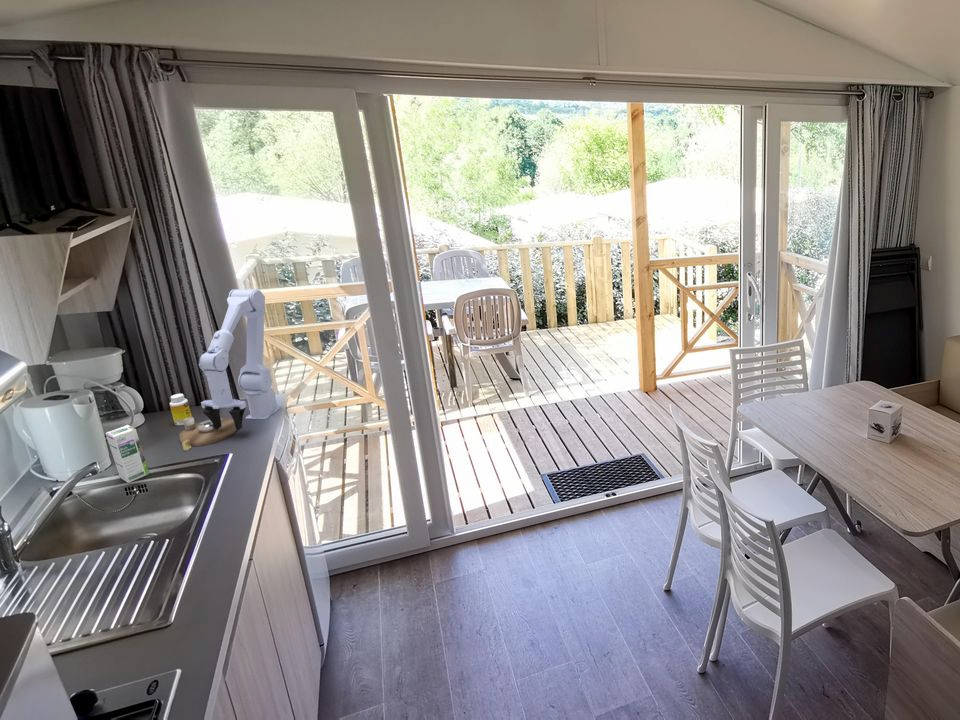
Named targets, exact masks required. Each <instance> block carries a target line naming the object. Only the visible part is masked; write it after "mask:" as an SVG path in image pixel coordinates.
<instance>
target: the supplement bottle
mask: <svg viewBox="0 0 960 720" xmlns="http://www.w3.org/2000/svg"><path fill="white" fill-rule="evenodd" d="M169 407H170V412H171V414H172V415H171V416H172V418H173V423H174V425H175V426H185V425H184V421H183V420H184V419H185V418H188V417H193V415H192V412H191V408H190V405H189V400H188V399H187V398H185V395H184V394H183V393H175V394H173V395H171V396H170V402H169Z"/></svg>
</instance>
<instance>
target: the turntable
mask: <svg viewBox="0 0 960 720" xmlns="http://www.w3.org/2000/svg"><path fill="white" fill-rule="evenodd" d="M220 419H221V427H220V428H218V429H217V430H216V431H213V432H210V433H199V430H198V424H199V423H201V422H204V421H207V420H208V419H207V420H202V421H199V422H196V423H195V417H193V416H192V417H188V418H185V419H184V420H183V421H184V425H183V426H184V429H183V430H181V431H180V433H179V435H178V438H179V441H180V443H181V444H182V442H184V441H185V440H190V443H191V447H202V446H208V445H211V444H215V443H219V442H221V441H224V440H226V439H228V438H230V437H231V436H233V435H234V434H235V433H236V432H237V431H238V430H237V429H236V427H235V423H234V420H233V418H227V417H224V418H223V417H220Z"/></svg>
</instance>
